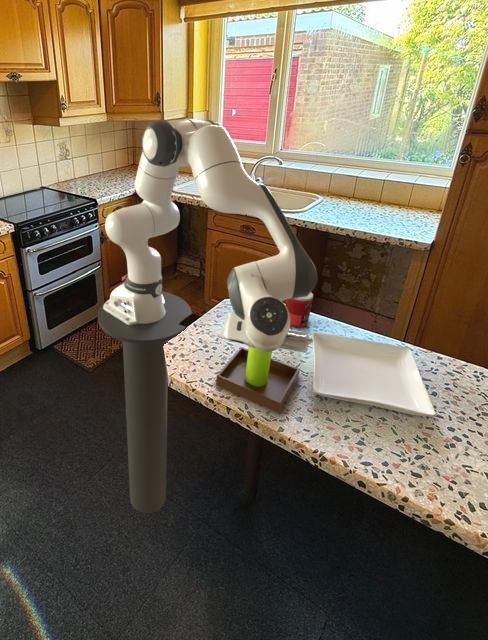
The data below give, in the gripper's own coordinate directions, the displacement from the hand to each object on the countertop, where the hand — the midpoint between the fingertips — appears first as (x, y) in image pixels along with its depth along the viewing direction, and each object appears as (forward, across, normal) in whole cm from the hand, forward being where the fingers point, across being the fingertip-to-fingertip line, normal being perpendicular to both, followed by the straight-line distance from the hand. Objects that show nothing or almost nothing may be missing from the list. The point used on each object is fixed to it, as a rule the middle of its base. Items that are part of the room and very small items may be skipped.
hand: (263, 341), depth 102 cm
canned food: (+32, -10, -14) cm, 37 cm away
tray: (+9, 0, +10) cm, 13 cm away
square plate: (+16, -27, +2) cm, 32 cm away
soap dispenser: (+8, 0, +9) cm, 12 cm away
